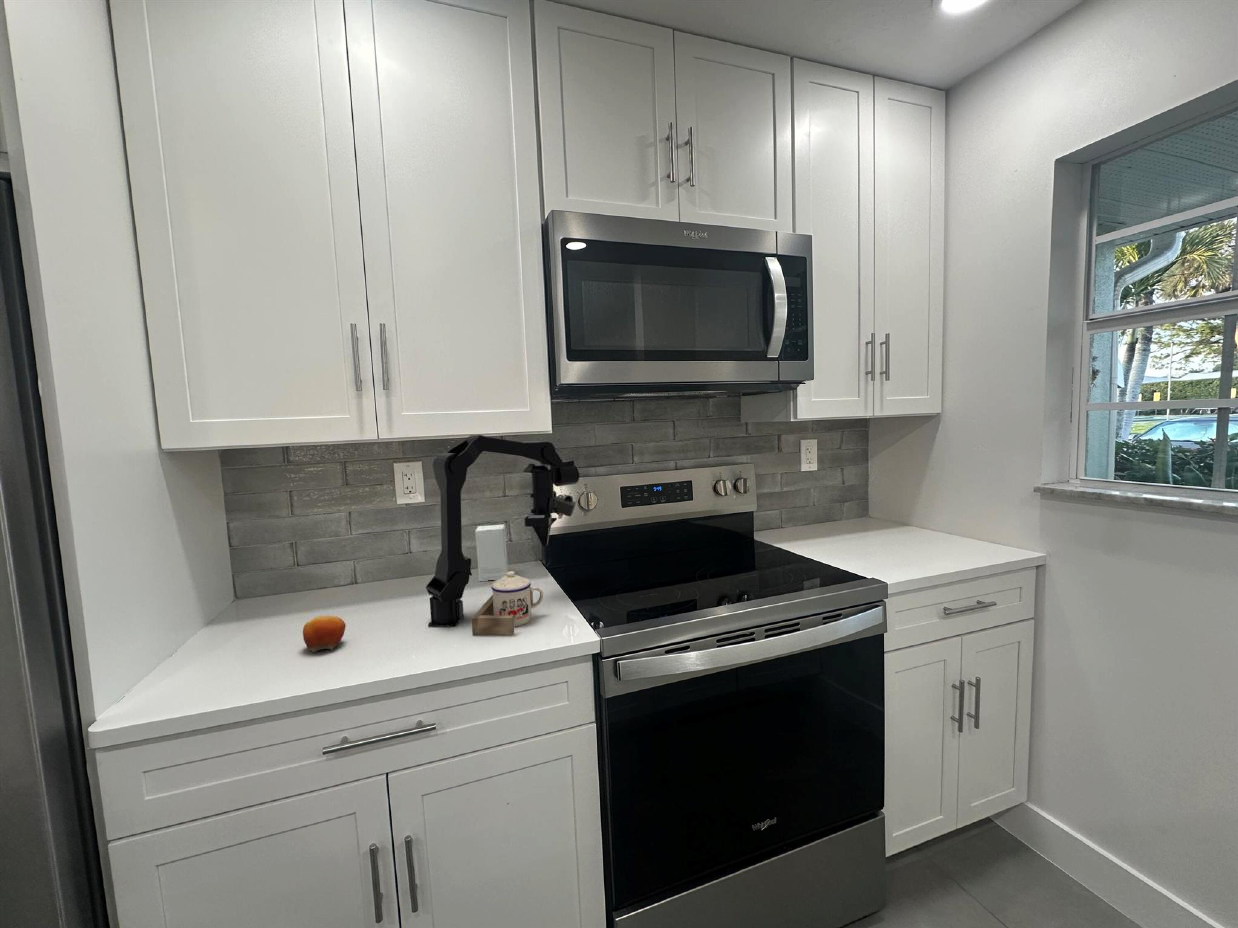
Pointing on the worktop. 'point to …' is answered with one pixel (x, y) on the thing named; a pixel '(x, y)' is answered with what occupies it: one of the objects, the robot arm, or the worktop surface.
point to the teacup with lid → (514, 598)
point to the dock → (493, 621)
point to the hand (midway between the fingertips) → (545, 546)
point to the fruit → (323, 632)
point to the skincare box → (491, 552)
